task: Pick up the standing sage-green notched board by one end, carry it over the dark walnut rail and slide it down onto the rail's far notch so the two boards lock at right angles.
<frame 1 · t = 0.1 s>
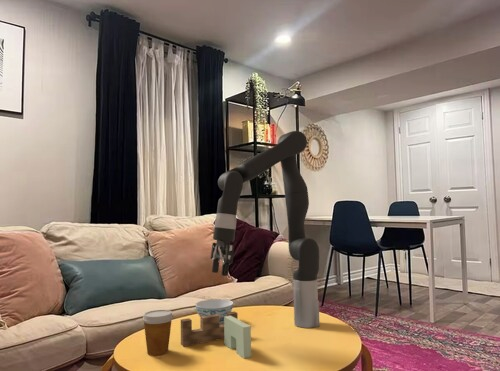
hand: (219, 274, 128), 22 cm above the table, tool pointing down, fingers open, 8 cm apart
chinaware: (214, 323, 147), on the table
disposable coffee cup: (157, 352, 116), on the table
cross piece: (237, 350, 117), on the table
rail: (210, 340, 127), on the table
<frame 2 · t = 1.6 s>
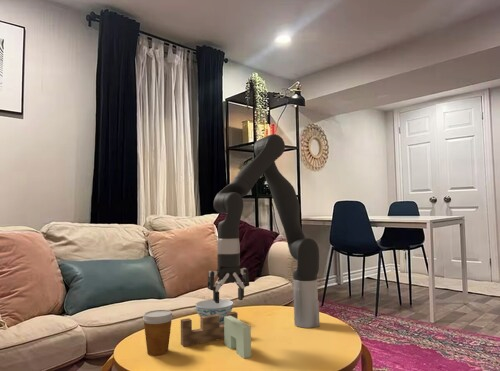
hand: (228, 301, 123), 14 cm above the table, tool pointing down, fingers open, 8 cm apart
nothing on the table moved.
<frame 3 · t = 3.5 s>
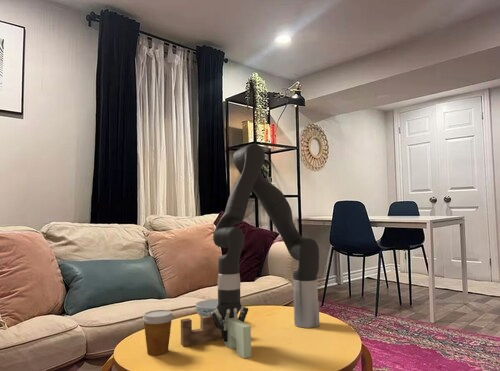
hand: (229, 340, 122), 2 cm above the table, tool pointing down, fingers closed on cross piece, 2 cm apart
cross piece: (237, 350, 117), on the table, touching gripper
everything else where it was.
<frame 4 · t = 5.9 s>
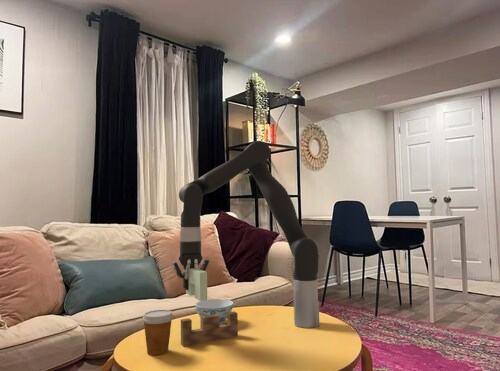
hand: (190, 288, 131), 17 cm above the table, tool pointing down, fingers closed on cross piece, 2 cm apart
cross piece: (196, 296, 126), point 15 cm above the table, touching gripper
everything else where it was.
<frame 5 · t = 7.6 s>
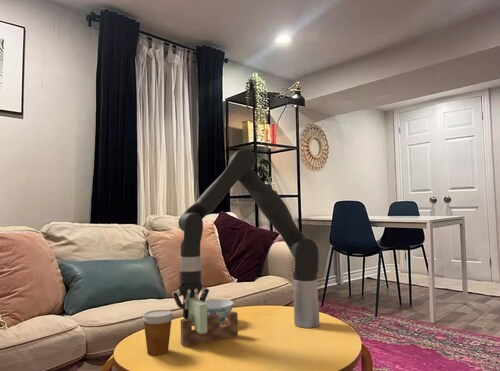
hand: (190, 318, 130), 7 cm above the table, tool pointing down, fingers closed on cross piece, 2 cm apart
cross piece: (196, 327, 125), point 5 cm above the table, touching gripper
everything else where it was.
when the fingers open (3 cm above the table, at t = 8.7 s): cross piece stays where it is, on the table.
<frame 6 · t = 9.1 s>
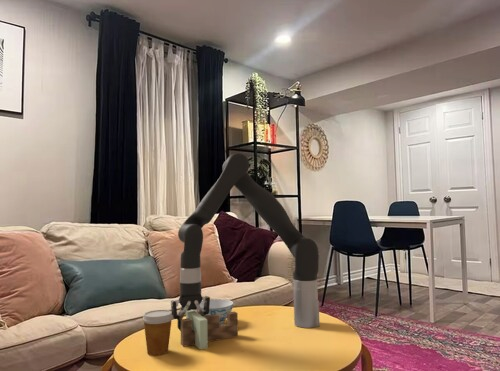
hand: (190, 328, 130), 3 cm above the table, tool pointing down, fingers open, 6 cm apart
cross piece: (196, 342, 125), on the table
everything else where it was.
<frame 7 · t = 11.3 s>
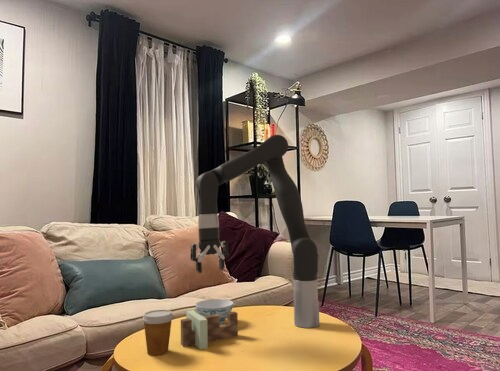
hand: (210, 271, 135), 22 cm above the table, tool pointing down, fingers open, 8 cm apart
nothing on the table moved.
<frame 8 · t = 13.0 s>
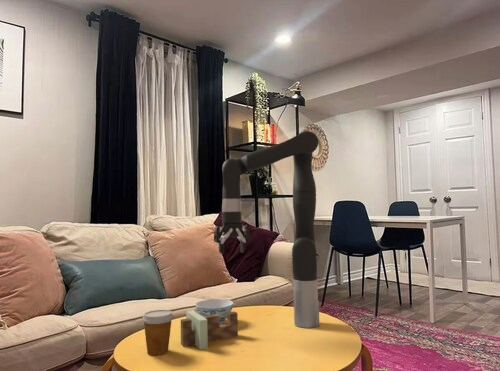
hand: (232, 253, 142), 28 cm above the table, tool pointing down, fingers open, 8 cm apart
nothing on the table moved.
at the end: cross piece 0.2 cm from the target spot, on the table; cross piece tilted 0°; the gripper is holding nothing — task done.
